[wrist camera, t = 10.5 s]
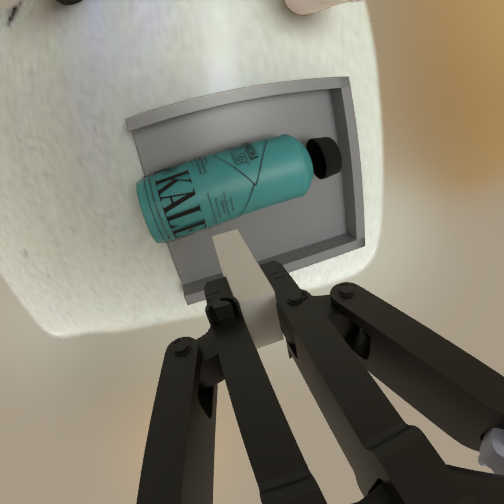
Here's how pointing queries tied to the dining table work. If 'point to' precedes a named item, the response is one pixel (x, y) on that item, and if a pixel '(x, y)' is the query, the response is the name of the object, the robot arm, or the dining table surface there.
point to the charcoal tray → (252, 130)
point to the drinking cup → (68, 1)
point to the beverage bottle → (233, 183)
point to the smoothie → (313, 5)
